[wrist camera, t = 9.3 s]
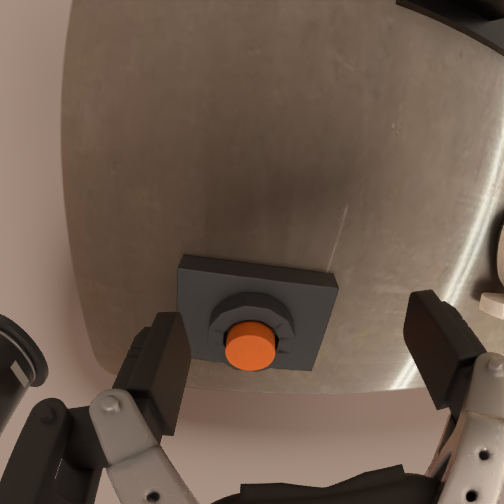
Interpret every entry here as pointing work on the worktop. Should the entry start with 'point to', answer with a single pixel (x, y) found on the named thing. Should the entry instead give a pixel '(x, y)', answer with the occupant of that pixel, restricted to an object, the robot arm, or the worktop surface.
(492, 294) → the spread jar
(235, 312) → the button box
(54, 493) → the robot arm
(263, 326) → the button
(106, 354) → the worktop surface
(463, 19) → the bracket
